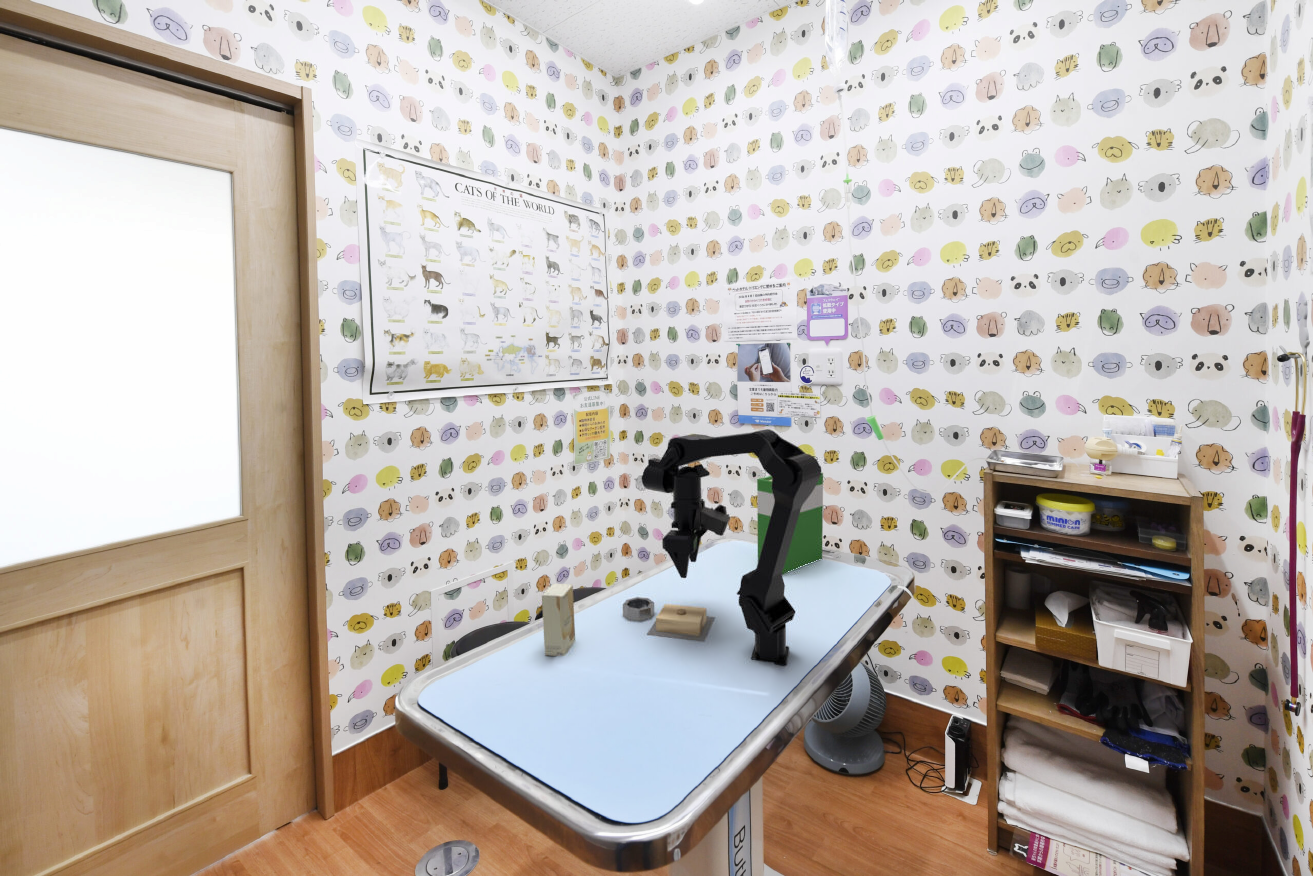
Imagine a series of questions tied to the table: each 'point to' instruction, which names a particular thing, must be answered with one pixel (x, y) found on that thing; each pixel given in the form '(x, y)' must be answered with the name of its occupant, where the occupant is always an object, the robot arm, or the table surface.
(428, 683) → the table surface
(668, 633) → the mat
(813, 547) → the hardback book
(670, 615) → the lid
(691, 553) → the robot arm
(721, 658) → the table surface
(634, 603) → the bowl
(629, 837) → the table surface
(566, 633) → the skincare box
